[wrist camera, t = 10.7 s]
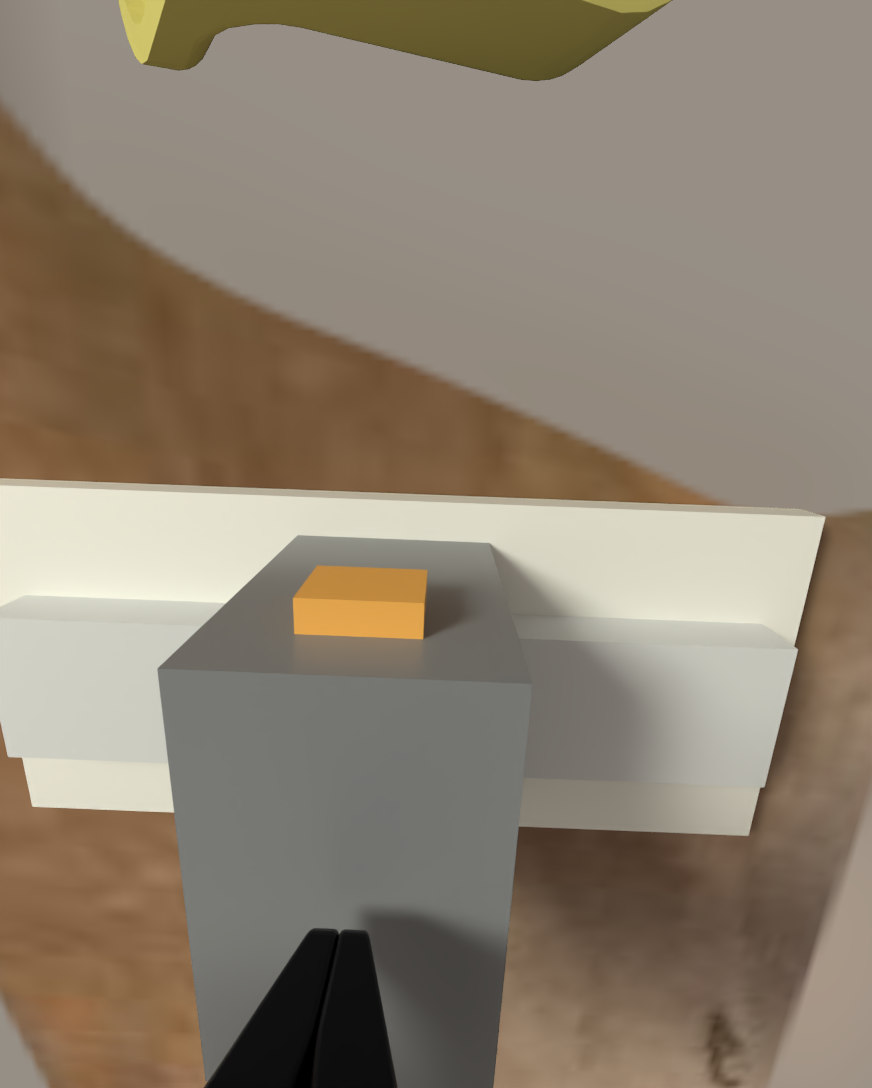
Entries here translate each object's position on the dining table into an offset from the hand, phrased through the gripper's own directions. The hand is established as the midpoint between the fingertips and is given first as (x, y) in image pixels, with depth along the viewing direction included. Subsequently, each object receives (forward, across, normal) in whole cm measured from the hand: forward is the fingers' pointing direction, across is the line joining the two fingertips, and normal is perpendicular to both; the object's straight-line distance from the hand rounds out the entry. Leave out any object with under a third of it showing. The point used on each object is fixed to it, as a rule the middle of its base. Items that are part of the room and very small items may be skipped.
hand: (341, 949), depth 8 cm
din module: (+8, 0, 0) cm, 8 cm away
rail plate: (+9, 0, 0) cm, 9 cm away
